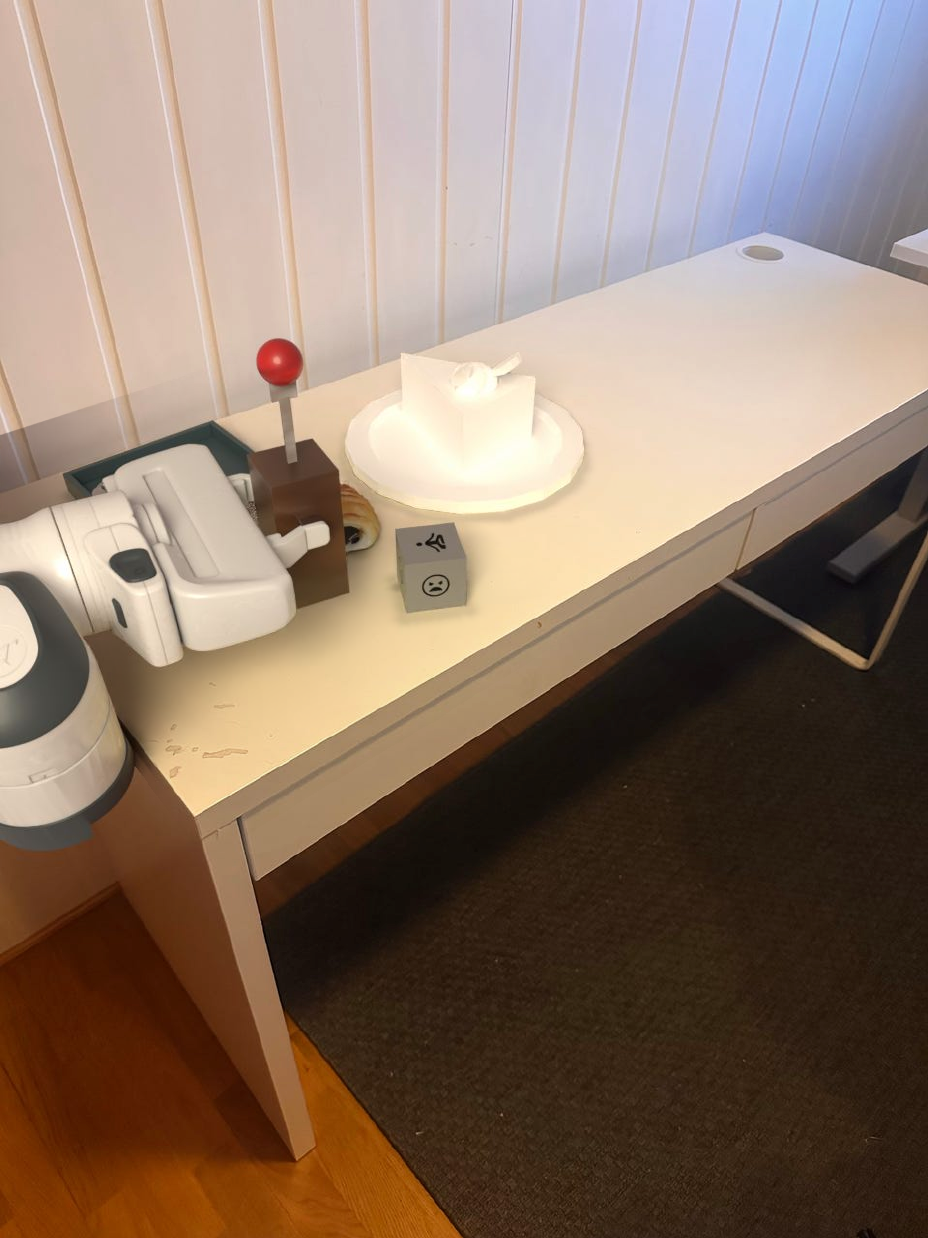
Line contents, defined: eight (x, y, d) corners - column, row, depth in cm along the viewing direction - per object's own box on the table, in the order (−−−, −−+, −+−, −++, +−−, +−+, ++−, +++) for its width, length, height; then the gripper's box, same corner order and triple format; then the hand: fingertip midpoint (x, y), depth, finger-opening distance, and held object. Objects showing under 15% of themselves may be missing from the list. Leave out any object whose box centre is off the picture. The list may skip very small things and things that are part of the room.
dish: (629, 443, 95) (644, 342, 88) (472, 545, 81) (475, 435, 74) (458, 371, 107) (459, 277, 100) (296, 449, 93) (284, 346, 86)
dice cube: (465, 605, 75) (466, 557, 72) (406, 612, 74) (404, 565, 71) (453, 569, 78) (454, 522, 75) (397, 575, 78) (395, 528, 74)
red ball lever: (288, 612, 67) (252, 363, 54) (266, 576, 71) (226, 332, 58) (349, 592, 69) (328, 347, 56) (325, 558, 73) (300, 319, 60)
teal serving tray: (129, 553, 80) (123, 535, 78) (67, 490, 87) (62, 473, 86) (284, 488, 88) (281, 471, 86) (215, 436, 95) (212, 419, 94)
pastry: (296, 504, 86) (292, 470, 83) (366, 495, 87) (364, 461, 85) (311, 562, 79) (307, 527, 76) (386, 551, 80) (384, 516, 78)
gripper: (96, 519, 69) (267, 475, 75) (165, 685, 56) (368, 618, 61) (74, 447, 65) (257, 406, 70) (143, 608, 52) (362, 543, 57)
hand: (309, 506), depth 66 cm, fingers closed on red ball lever, 5 cm apart
